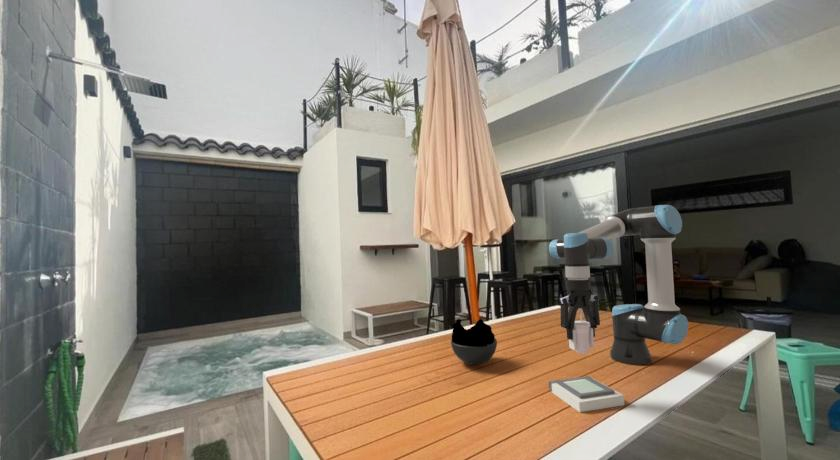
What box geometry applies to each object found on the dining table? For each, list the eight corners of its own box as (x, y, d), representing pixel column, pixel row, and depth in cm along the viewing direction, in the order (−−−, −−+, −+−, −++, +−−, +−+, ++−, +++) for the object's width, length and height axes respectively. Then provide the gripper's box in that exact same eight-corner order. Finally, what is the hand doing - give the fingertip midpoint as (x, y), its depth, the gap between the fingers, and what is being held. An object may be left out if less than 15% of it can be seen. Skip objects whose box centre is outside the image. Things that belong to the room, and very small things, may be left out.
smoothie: (595, 355, 109) (592, 311, 110) (574, 354, 110) (571, 311, 111) (589, 348, 115) (586, 307, 116) (569, 348, 117) (566, 307, 117)
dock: (589, 384, 122) (588, 373, 122) (624, 405, 106) (623, 392, 106) (549, 390, 118) (548, 378, 118) (579, 412, 103) (579, 398, 103)
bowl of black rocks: (507, 364, 145) (505, 320, 146) (473, 376, 134) (471, 328, 134) (475, 353, 161) (473, 313, 162) (442, 362, 150) (440, 320, 151)
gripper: (594, 276, 119) (598, 342, 118) (546, 279, 116) (549, 347, 115) (610, 277, 112) (614, 348, 111) (559, 281, 108) (563, 354, 107)
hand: (581, 347), depth 113 cm, fingers closed on smoothie, 6 cm apart
